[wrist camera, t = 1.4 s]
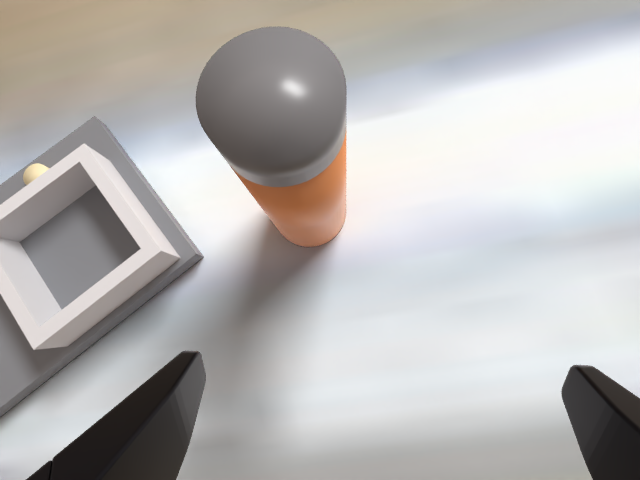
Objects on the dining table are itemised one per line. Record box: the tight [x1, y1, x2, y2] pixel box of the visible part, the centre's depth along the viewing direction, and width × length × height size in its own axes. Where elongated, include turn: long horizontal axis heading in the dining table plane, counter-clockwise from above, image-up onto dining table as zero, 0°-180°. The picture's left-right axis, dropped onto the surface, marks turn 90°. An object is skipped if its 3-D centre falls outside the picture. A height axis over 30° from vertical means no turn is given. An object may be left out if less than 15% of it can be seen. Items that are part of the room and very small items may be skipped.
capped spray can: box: [196, 27, 346, 247], centre depth 18 cm, size 5×5×13 cm
